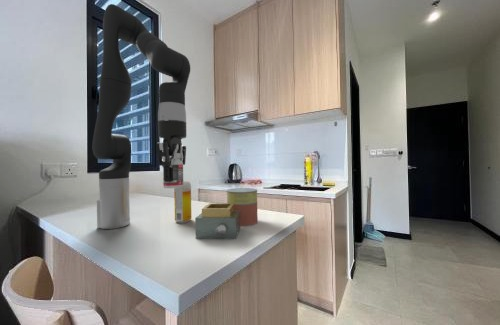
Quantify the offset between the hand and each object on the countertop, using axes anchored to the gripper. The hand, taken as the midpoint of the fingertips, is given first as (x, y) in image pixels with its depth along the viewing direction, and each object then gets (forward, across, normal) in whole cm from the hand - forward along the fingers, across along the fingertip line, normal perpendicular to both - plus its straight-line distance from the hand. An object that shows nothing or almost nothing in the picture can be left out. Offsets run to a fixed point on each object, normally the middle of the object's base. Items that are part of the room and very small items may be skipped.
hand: (173, 180), depth 61 cm
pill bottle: (+2, 0, 0) cm, 2 cm away
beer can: (+18, -20, -6) cm, 28 cm away
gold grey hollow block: (+17, -7, +11) cm, 22 cm away
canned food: (+18, -20, +17) cm, 32 cm away
